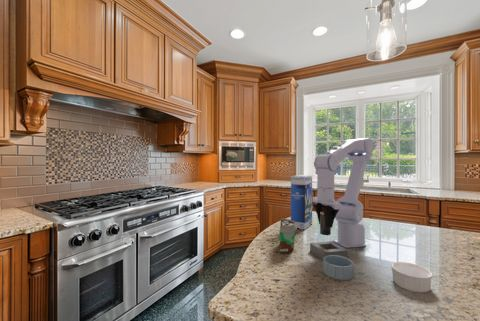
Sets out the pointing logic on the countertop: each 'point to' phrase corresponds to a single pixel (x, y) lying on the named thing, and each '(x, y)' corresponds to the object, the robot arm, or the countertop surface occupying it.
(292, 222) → the food container
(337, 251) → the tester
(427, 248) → the countertop surface
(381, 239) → the countertop surface
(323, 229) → the battery cell
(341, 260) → the grey round bowl
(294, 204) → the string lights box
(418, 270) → the ramekin
